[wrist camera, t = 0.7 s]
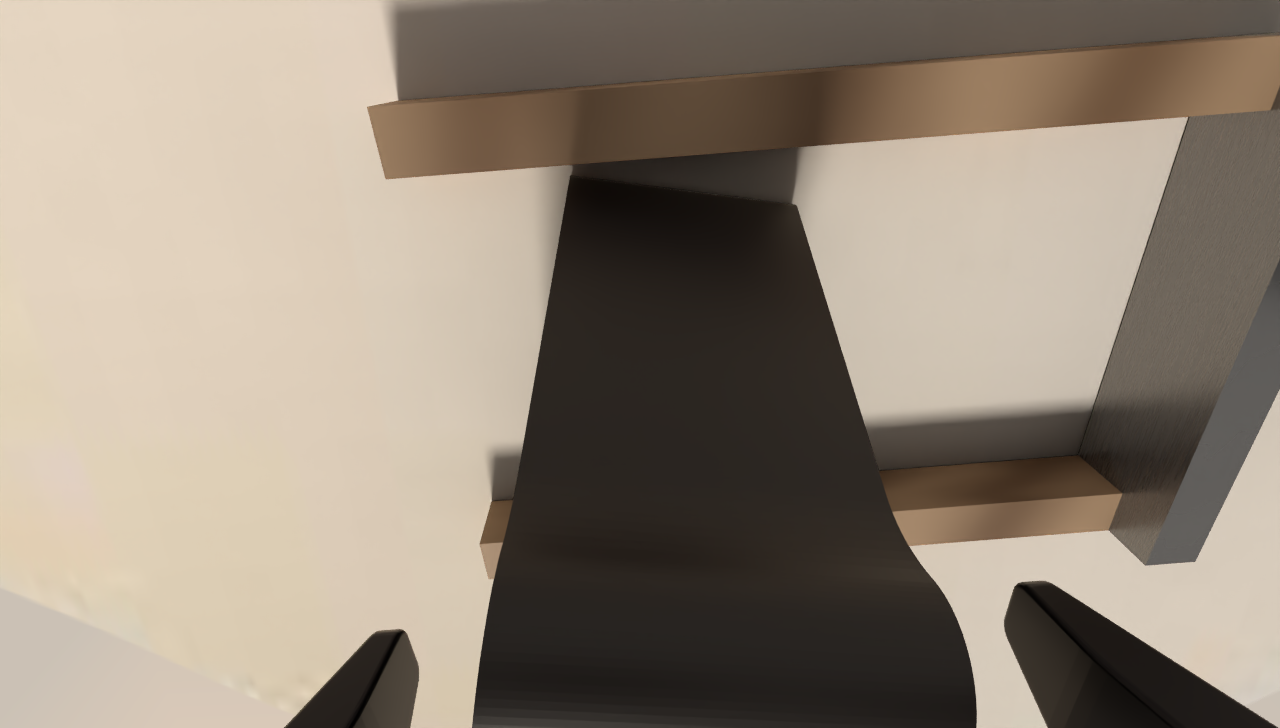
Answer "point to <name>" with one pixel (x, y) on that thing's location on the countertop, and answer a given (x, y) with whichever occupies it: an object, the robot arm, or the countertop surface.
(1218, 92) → the guide track
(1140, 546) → the end stop
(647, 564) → the phone stand
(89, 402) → the countertop surface
